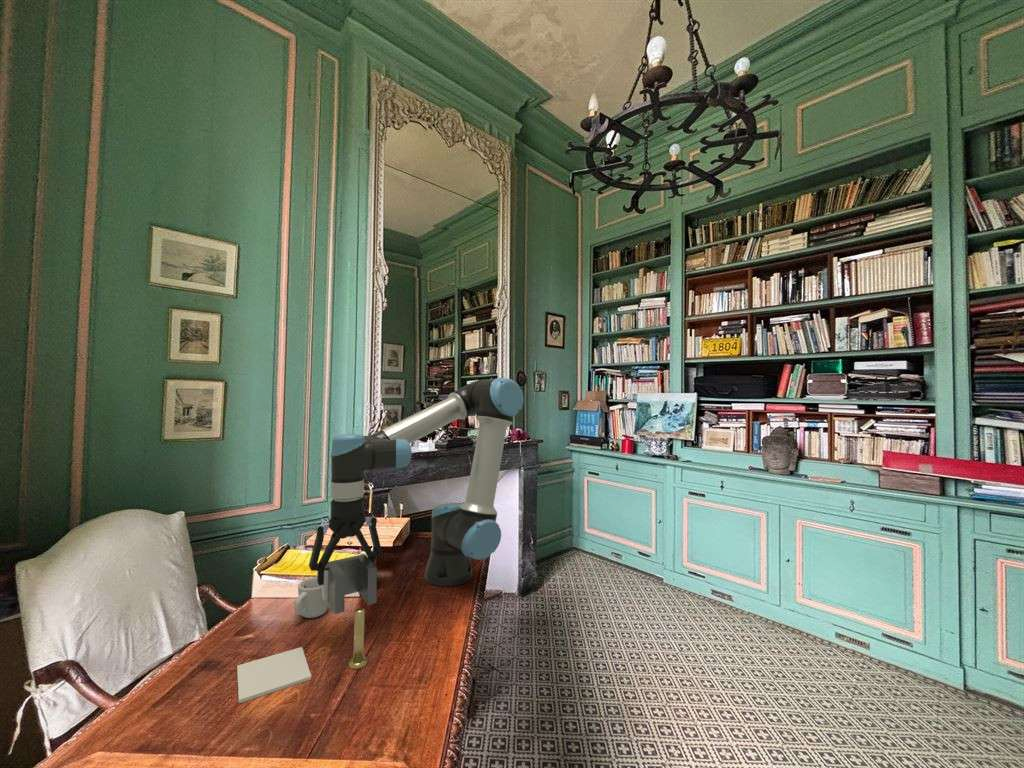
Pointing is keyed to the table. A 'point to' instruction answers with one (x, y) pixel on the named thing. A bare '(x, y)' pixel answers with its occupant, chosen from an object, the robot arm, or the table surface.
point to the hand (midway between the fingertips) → (346, 591)
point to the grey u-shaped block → (351, 581)
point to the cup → (310, 599)
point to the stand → (358, 641)
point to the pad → (271, 674)
